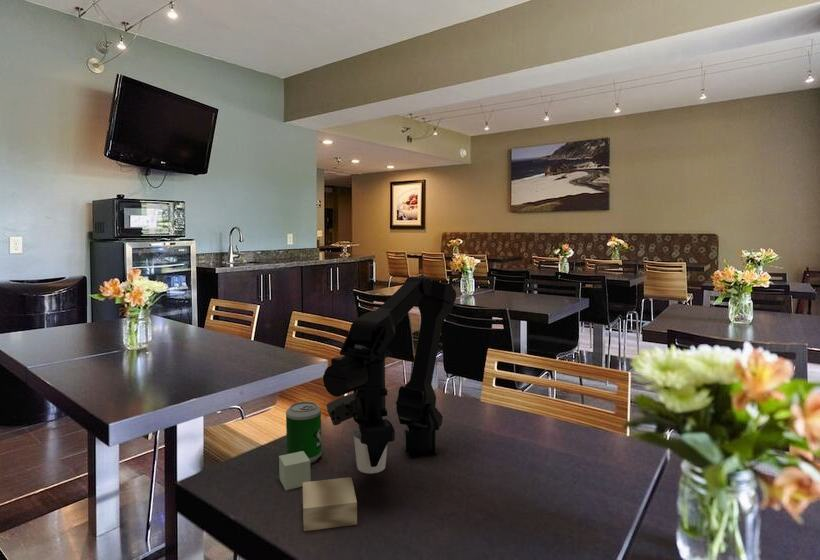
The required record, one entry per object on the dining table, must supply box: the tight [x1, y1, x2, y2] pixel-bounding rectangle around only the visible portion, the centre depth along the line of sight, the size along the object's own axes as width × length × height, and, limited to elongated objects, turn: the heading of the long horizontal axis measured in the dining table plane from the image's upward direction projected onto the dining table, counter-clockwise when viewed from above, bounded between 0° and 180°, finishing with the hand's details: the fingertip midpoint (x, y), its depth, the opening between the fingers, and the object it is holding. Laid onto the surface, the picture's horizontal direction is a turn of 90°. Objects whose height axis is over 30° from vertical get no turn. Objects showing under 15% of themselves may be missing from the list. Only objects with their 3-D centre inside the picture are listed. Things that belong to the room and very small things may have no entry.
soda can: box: [285, 401, 323, 464], centre depth 110 cm, size 8×8×12 cm
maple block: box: [302, 476, 358, 532], centre depth 89 cm, size 9×9×4 cm
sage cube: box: [278, 451, 312, 491], centre depth 100 cm, size 5×5×5 cm
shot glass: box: [353, 428, 388, 474], centre depth 99 cm, size 7×7×7 cm
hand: (371, 459), depth 99 cm, fingers closed on shot glass, 6 cm apart
